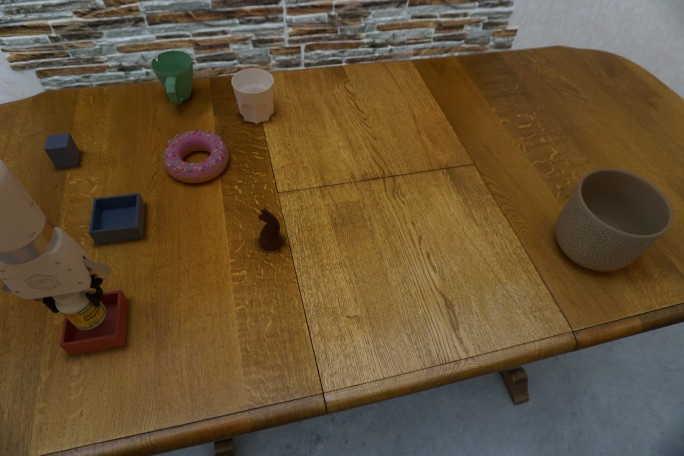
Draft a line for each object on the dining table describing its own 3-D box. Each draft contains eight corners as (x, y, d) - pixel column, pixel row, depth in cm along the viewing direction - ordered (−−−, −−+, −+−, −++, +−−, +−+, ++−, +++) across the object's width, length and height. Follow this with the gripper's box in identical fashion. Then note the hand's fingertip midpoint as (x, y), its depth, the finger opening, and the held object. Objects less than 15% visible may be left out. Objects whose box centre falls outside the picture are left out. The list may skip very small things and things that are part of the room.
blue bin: (96, 244, 92) (88, 233, 89) (100, 210, 97) (93, 198, 94) (143, 238, 94) (137, 226, 90) (145, 204, 99) (139, 192, 96)
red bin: (70, 355, 79) (59, 346, 75) (76, 308, 84) (67, 298, 81) (125, 345, 80) (117, 336, 77) (128, 300, 85) (121, 289, 82)
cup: (247, 97, 122) (242, 64, 114) (282, 106, 121) (280, 73, 113) (230, 120, 116) (224, 87, 108) (267, 130, 115) (263, 97, 107)
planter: (551, 275, 93) (587, 230, 80) (541, 211, 103) (571, 162, 90) (637, 287, 92) (686, 243, 80) (618, 221, 102) (659, 173, 90)
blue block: (56, 168, 104) (43, 149, 99) (59, 154, 107) (47, 135, 102) (78, 166, 105) (66, 146, 100) (80, 152, 107) (69, 132, 103)
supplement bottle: (85, 298, 80) (60, 269, 72) (113, 306, 79) (91, 278, 72) (66, 326, 77) (38, 299, 69) (95, 334, 76) (69, 308, 69)
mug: (163, 84, 124) (152, 51, 116) (200, 82, 125) (192, 49, 117) (159, 120, 115) (147, 87, 107) (199, 118, 116) (190, 84, 108)
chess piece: (268, 229, 96) (264, 198, 88) (288, 240, 95) (285, 209, 87) (254, 244, 94) (249, 213, 86) (274, 255, 93) (271, 225, 85)
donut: (238, 175, 105) (235, 159, 101) (176, 195, 101) (170, 179, 97) (218, 136, 113) (215, 120, 109) (160, 153, 108) (154, 137, 104)
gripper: (-61, 270, 56) (16, 332, 71) (87, 250, 59) (132, 313, 74) (-44, 223, 61) (25, 290, 75) (93, 206, 63) (135, 274, 78)
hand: (78, 301), depth 74 cm, fingers closed on supplement bottle, 5 cm apart
